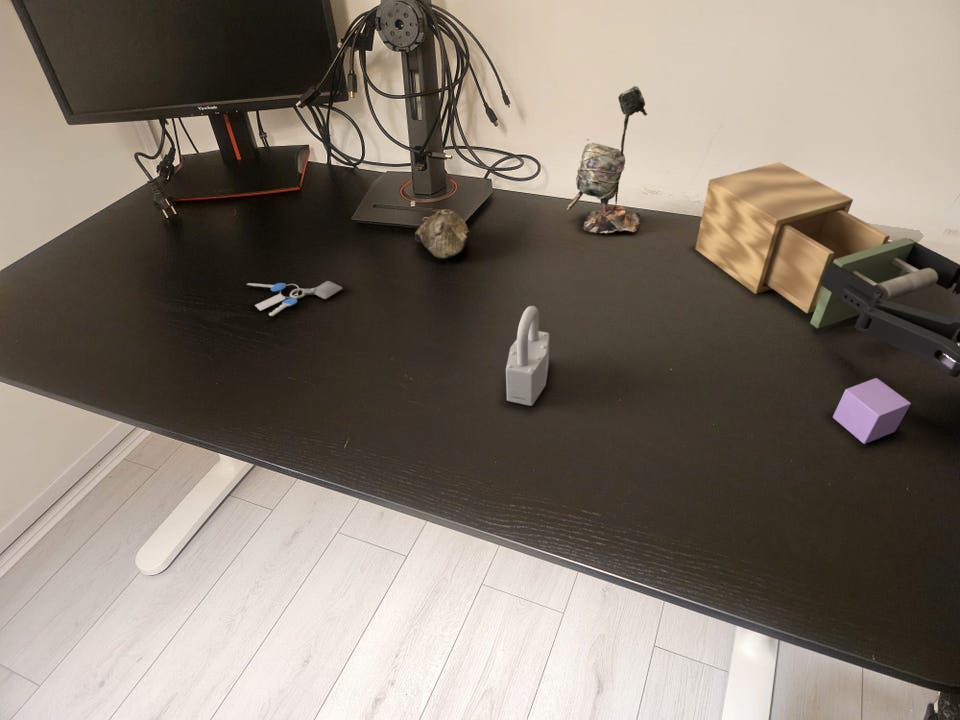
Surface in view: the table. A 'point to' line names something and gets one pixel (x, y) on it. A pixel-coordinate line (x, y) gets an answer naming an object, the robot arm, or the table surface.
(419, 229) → the fossilized seashell
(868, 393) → the purple block
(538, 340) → the padlock
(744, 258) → the wooden drawer box
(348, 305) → the table surface
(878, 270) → the pull-out drawer
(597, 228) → the metal wire sculpture
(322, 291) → the key chain
